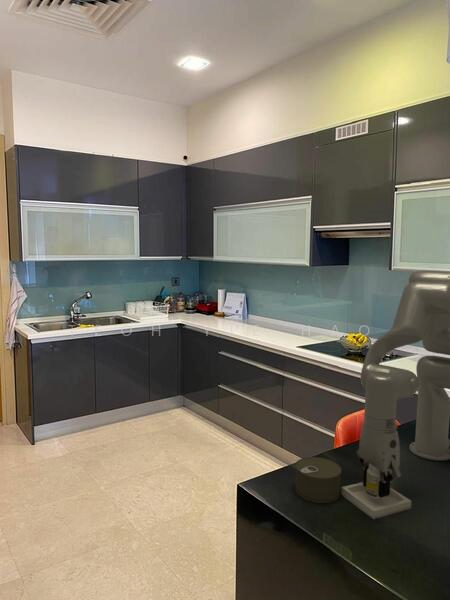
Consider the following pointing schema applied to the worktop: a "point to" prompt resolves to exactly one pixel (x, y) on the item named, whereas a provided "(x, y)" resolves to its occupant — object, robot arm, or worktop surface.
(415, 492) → the worktop surface
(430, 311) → the robot arm
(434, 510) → the worktop surface
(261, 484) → the worktop surface
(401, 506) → the tray
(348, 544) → the worktop surface
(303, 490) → the can
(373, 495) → the supplement bottle
